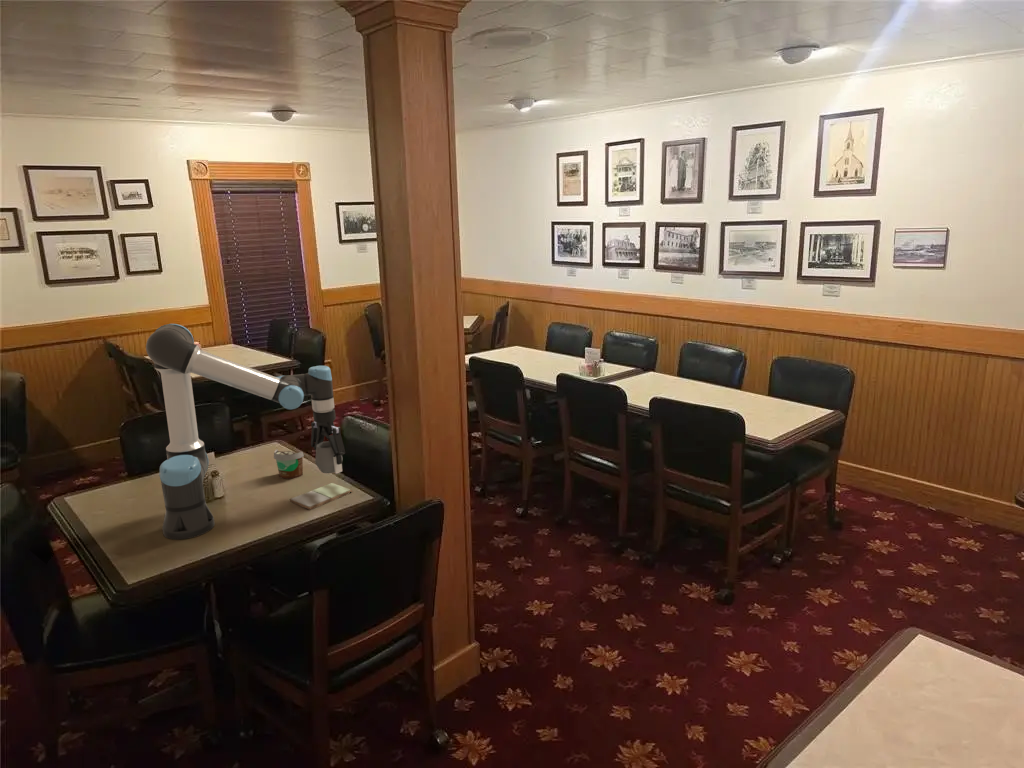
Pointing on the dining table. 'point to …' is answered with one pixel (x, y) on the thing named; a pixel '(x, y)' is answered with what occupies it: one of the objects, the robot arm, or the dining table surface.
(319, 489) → the green and white board
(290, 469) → the food container
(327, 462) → the cup
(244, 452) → the dining table surface
